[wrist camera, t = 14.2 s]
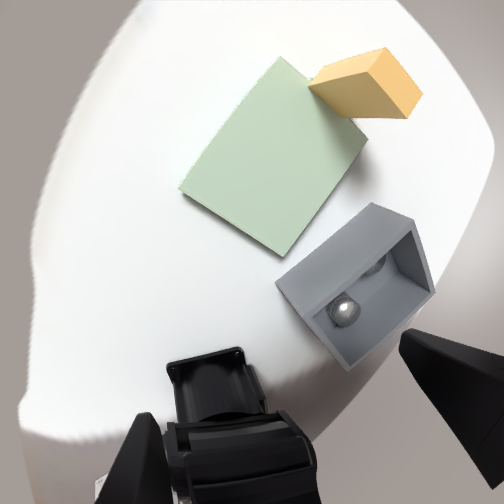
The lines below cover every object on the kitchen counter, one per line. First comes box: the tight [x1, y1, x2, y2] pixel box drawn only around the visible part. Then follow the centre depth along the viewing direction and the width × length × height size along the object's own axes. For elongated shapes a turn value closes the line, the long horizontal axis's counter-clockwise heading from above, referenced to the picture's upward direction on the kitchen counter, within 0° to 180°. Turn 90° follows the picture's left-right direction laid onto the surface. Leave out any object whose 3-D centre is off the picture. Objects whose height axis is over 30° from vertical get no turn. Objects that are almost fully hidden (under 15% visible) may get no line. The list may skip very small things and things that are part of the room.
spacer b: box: [365, 254, 386, 275], centre depth 23 cm, size 2×2×2 cm
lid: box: [178, 47, 423, 257], centre depth 16 cm, size 12×8×8 cm
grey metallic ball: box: [326, 292, 361, 327], centre depth 24 cm, size 2×2×2 cm
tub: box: [275, 203, 435, 373], centre depth 22 cm, size 10×8×5 cm
